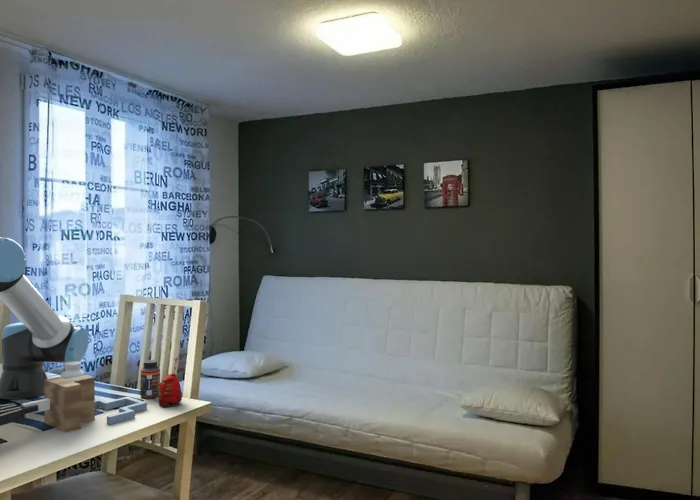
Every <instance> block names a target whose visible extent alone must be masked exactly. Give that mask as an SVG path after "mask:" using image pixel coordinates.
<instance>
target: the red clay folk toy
mask: <svg viewBox="0 0 700 500" xmlns="http://www.w3.org/2000/svg"><path fill="white" fill-rule="evenodd" d="M177 355H178V356H176V358H173V359H174V361H175V364H174V366H173V373H171V374H170V373H169V374H167V375H166V376H164V377H163V378H162V381H160V388H159V392H158V396H157V399H158V405H160V406H161V407H162V408H167V407H169V406H170V407H175V406H177V405H178V404H180V403H181V402H182V399H183V398H182V397H183V392H182V388H181V387H182V386H181V384H180V382H179V379H178V377H177V374H176V373H175V372H176V371H175V370H177V367H176V365H177V362H178V360H180V358H179V357H180V354H177Z"/></svg>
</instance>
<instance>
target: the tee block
mask: <svg viewBox="0 0 700 500" xmlns="http://www.w3.org/2000/svg"><path fill="white" fill-rule="evenodd" d="M95 379H96V378H95V376H91V375H89V374H86V375H85V376H80V377H75V378H70V379H64V378H61V376H57V377H51V378H48V379H45V380H44V394H43V396H44V397H43V399H46V398H48V399H50V409H49V410H45V411H43V412H44V414H43V415H44V417H43V418H44V424H46V425H48V426H51V427H53V428H55V429H58V430H60V431H61V432H64V433H70V432H73V431H77V430H80V429H82V424H83V423H87V422H91V421H94V420H95V415H96V414H95V412H96V411H95V409H96V408H95V400H96V397H95V393H96V392H95V384H96V383H95Z"/></svg>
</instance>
